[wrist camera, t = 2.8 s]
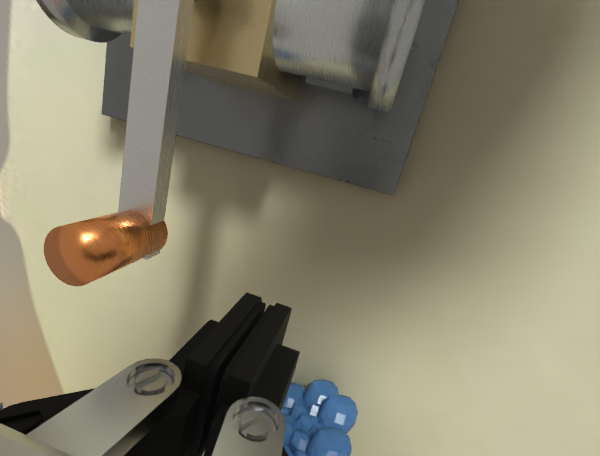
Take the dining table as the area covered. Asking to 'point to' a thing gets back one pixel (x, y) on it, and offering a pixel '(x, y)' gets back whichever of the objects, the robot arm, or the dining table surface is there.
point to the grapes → (317, 420)
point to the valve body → (289, 77)
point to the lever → (135, 155)
